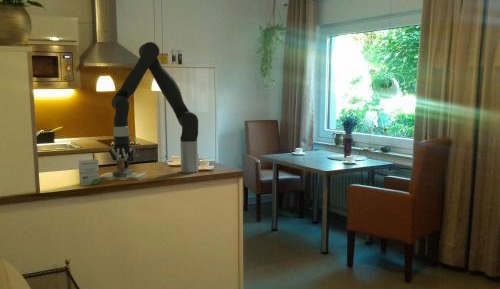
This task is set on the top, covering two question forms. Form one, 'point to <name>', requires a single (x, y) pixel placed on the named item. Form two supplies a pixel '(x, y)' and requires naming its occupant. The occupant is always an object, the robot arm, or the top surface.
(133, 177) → the birch board
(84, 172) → the ink box
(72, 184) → the top surface
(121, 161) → the sanding block
